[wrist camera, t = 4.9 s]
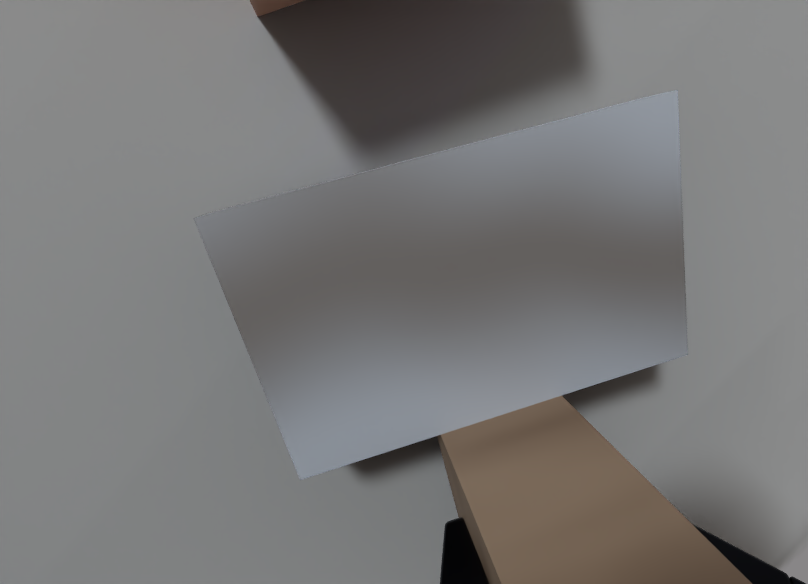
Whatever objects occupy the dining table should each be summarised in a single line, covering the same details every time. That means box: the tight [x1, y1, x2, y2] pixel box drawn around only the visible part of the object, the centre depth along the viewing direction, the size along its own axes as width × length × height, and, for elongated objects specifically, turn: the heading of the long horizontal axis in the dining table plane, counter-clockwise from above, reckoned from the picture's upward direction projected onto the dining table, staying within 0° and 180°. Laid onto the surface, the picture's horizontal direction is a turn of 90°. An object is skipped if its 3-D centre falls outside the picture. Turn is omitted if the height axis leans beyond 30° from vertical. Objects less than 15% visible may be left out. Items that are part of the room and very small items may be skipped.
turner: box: [194, 90, 752, 584], centre depth 7 cm, size 14×8×5 cm, turn 14°
